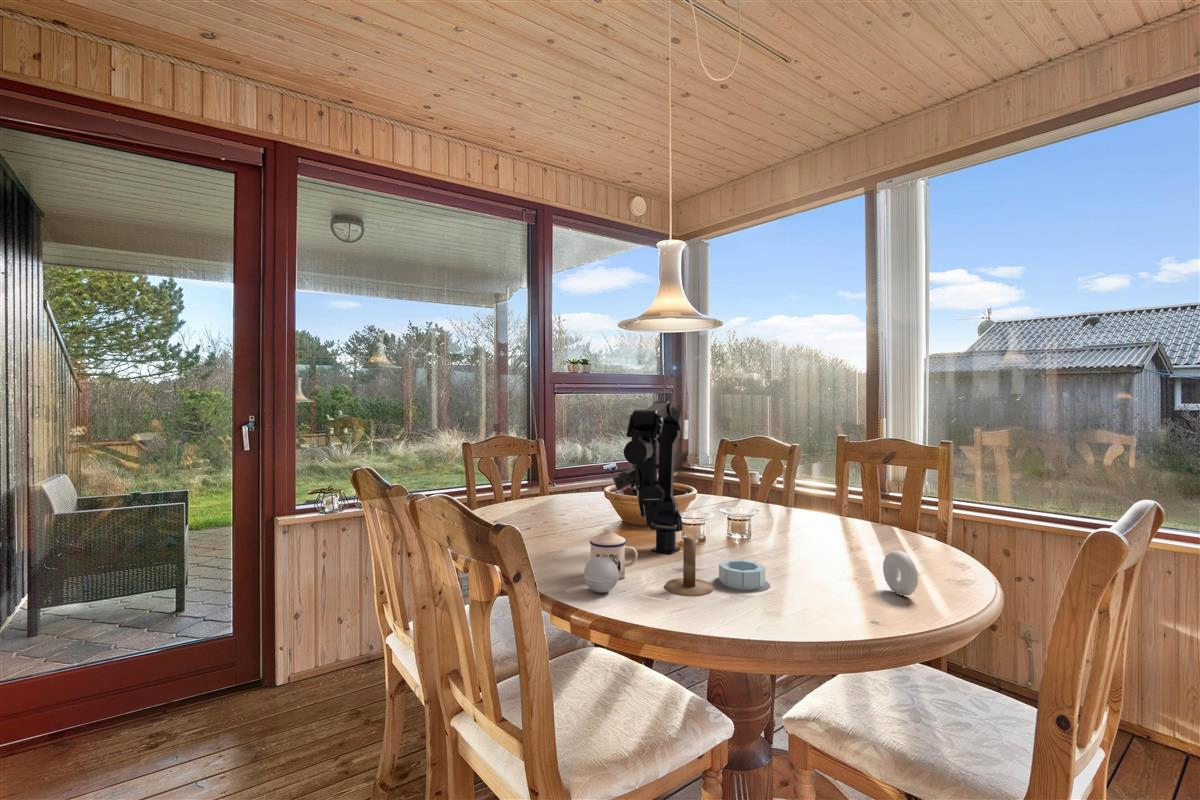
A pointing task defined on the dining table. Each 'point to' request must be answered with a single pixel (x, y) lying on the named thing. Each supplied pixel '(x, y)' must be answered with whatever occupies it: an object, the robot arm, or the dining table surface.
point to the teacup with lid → (612, 549)
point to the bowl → (742, 574)
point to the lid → (689, 574)
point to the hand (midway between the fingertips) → (645, 520)
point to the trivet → (764, 588)
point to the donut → (907, 569)
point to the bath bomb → (601, 574)
